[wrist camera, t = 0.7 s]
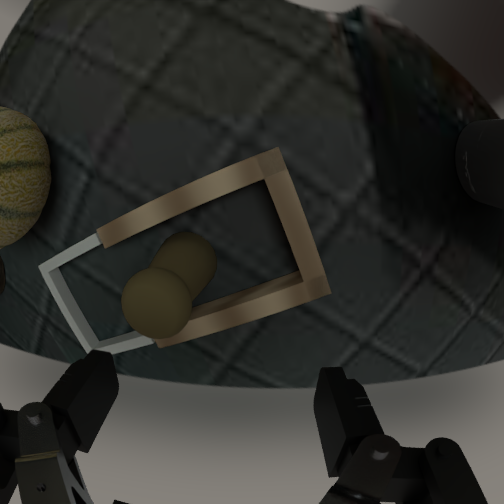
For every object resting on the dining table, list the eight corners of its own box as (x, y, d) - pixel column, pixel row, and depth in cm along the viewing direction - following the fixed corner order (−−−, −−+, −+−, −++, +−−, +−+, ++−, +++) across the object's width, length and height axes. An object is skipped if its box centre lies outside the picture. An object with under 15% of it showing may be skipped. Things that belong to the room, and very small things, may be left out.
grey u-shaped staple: (104, 228, 29) (95, 233, 27) (159, 333, 32) (153, 343, 30) (47, 260, 30) (38, 266, 28) (98, 350, 34) (91, 359, 32)
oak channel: (276, 148, 26) (278, 146, 23) (325, 280, 29) (331, 293, 27) (110, 222, 29) (96, 229, 26) (167, 333, 32) (159, 348, 29)
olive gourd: (211, 295, 30) (186, 361, 20) (155, 281, 30) (109, 338, 20) (222, 239, 29) (198, 285, 18) (162, 225, 28) (109, 263, 18)
